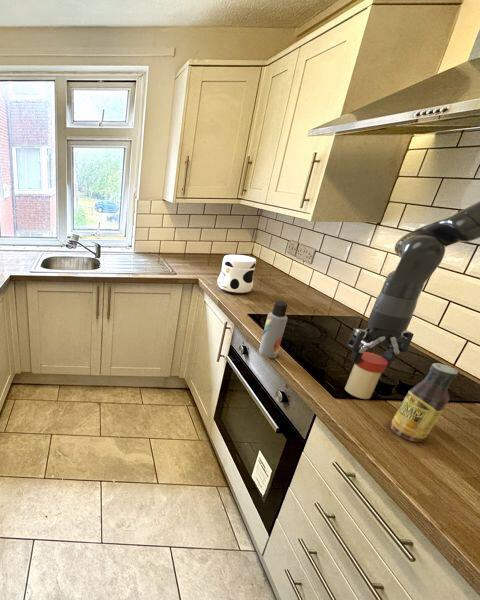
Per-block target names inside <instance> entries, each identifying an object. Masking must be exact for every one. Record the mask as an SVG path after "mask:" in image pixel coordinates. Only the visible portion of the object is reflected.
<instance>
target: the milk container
mask: <svg viewBox="0 0 480 600" xmlns="http://www.w3.org/2000/svg"><path fill="white" fill-rule="evenodd" d="M256 265H257V259H256V258H255V257H252V256H249V255H244V254H226V255H224V257H223V259H222V265H221V270H220V274H218V278H217V287H218V288H219V289H221V291H224V292H226V293H231V294H238V295H239V294H241V295H242V294H248V293H249V292H251V291H252V290H253V287H254V274H255V271H256Z"/></svg>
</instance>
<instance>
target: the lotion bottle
mask: <svg viewBox="0 0 480 600" xmlns="http://www.w3.org/2000/svg"><path fill="white" fill-rule="evenodd" d="M288 305H289V304H288V302H287V301H284V300H274V302H273V306H272V310H271V312H268V314H267V317H266V320H265V325H264V329H263V333H262V337H261V341H260V345H259V349H258V353H259V355H261V356H262V357H265V358H267V359H274V358H277V357H278V353H279V350H280V347H281V344H282V343H281V342H282V340H283V335H284V332H285V329H286V325H287V322H288V316H287V314H286V313H287V310H288Z"/></svg>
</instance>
